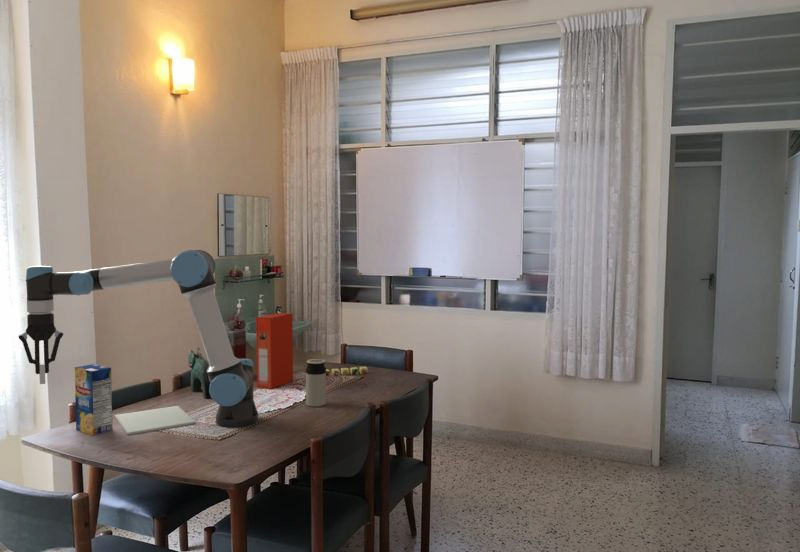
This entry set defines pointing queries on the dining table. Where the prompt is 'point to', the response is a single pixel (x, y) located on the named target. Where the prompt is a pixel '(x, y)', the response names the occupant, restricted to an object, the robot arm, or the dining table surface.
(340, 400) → the dining table surface
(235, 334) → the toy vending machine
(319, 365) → the travel mug
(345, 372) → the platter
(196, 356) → the green animal figurine
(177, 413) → the board
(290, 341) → the file binder
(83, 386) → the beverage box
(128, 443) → the dining table surface
